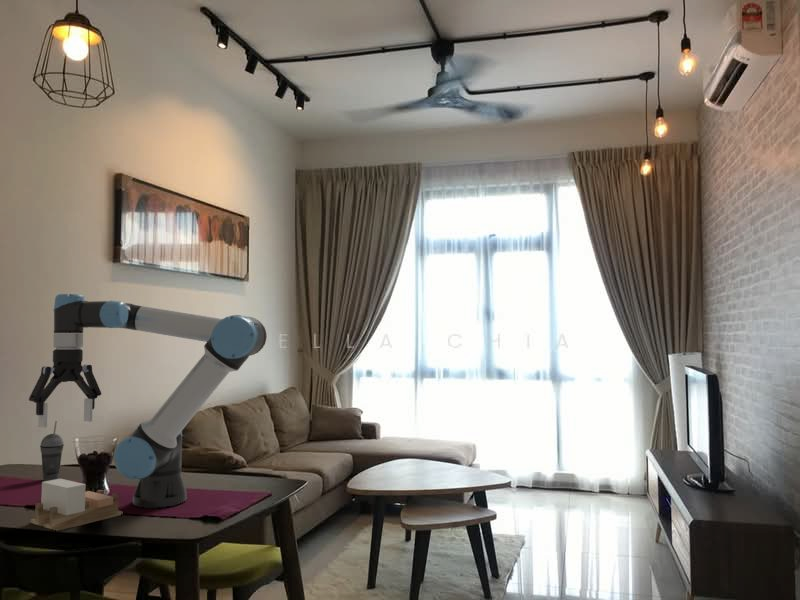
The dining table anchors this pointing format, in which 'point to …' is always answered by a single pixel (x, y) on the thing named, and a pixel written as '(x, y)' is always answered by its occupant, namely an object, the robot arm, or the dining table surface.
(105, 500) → the terracotta strip
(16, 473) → the dining table surface
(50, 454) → the beverage cup
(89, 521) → the oak rack
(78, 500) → the white rectangular block
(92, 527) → the dining table surface
